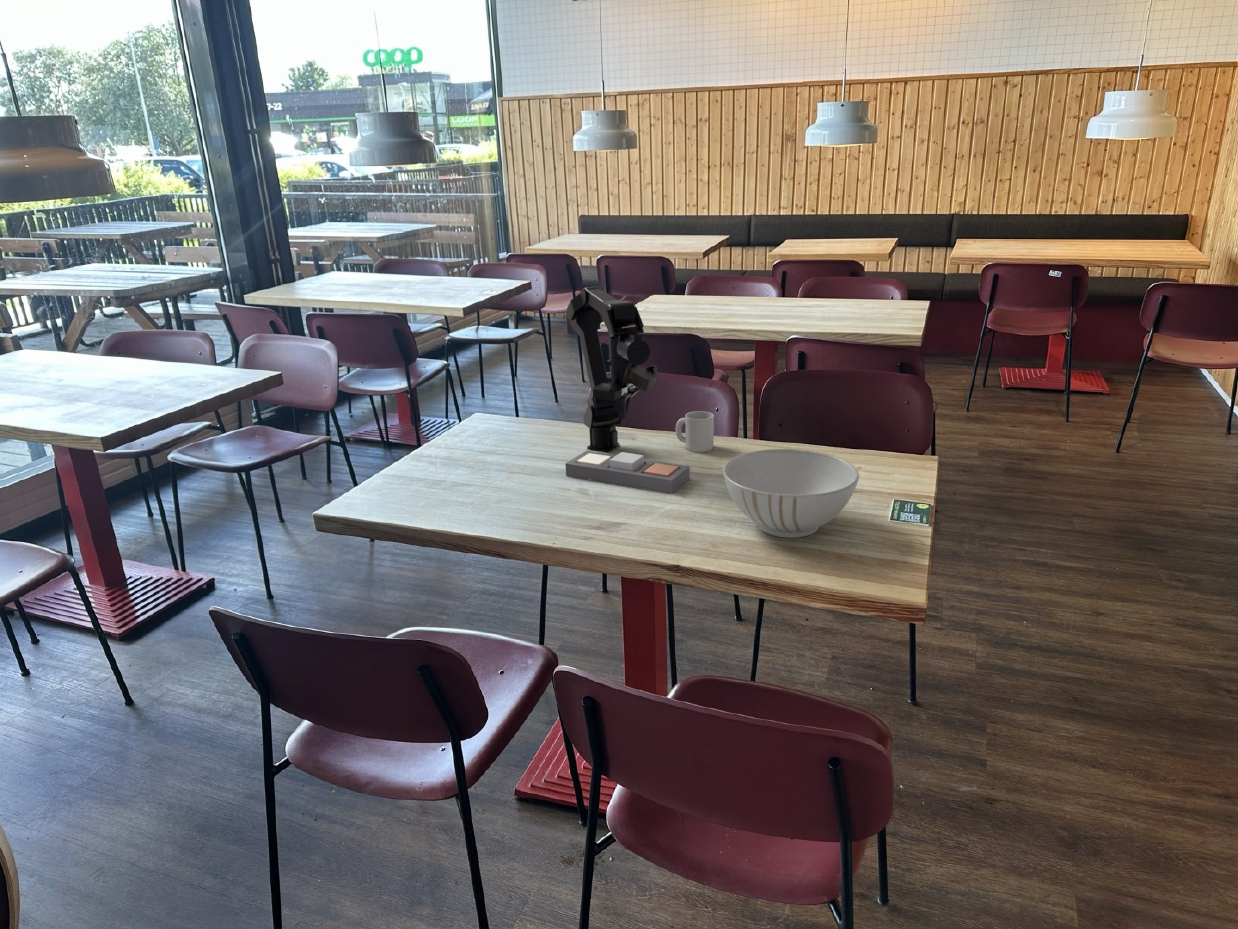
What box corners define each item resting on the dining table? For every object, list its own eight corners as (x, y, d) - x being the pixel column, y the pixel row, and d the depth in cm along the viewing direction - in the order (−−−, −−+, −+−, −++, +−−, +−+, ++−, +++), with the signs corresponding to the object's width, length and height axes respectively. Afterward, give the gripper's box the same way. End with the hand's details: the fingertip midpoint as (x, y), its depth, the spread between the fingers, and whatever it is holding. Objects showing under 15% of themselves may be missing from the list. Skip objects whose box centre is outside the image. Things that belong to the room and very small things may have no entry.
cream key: (577, 470, 211) (576, 460, 210) (589, 462, 215) (589, 453, 215) (598, 473, 208) (598, 464, 207) (611, 465, 213) (610, 456, 212)
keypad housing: (566, 475, 210) (565, 463, 209) (586, 462, 218) (586, 450, 217) (671, 493, 197) (671, 480, 196) (689, 478, 206) (689, 466, 205)
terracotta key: (644, 481, 202) (643, 471, 202) (655, 472, 207) (655, 463, 206) (667, 484, 200) (667, 475, 199) (678, 476, 205) (678, 466, 204)
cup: (709, 453, 222) (709, 420, 219) (671, 450, 225) (671, 417, 222) (716, 445, 228) (716, 412, 225) (679, 441, 231) (679, 409, 228)
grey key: (609, 469, 206) (609, 459, 205) (621, 461, 211) (621, 452, 210) (632, 473, 203) (632, 463, 202) (643, 464, 208) (643, 455, 207)
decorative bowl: (755, 563, 164) (756, 503, 160) (702, 510, 188) (703, 457, 184) (881, 542, 171) (886, 484, 167) (815, 493, 195) (817, 442, 191)
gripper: (631, 368, 195) (632, 434, 201) (670, 350, 210) (670, 412, 216) (589, 363, 201) (592, 427, 206) (630, 346, 216) (631, 407, 221)
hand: (623, 418), depth 212 cm, fingers closed
